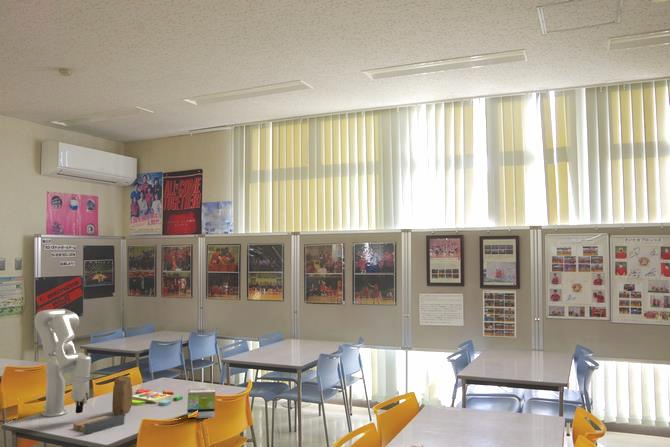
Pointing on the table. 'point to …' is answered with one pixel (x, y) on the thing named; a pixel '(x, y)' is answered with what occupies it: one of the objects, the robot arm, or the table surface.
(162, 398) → the pattern blocks set
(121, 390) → the block
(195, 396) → the tea box
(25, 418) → the table surface
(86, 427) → the block
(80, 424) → the walnut slab
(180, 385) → the table surface
